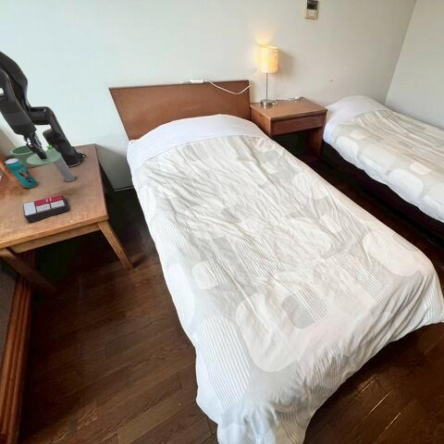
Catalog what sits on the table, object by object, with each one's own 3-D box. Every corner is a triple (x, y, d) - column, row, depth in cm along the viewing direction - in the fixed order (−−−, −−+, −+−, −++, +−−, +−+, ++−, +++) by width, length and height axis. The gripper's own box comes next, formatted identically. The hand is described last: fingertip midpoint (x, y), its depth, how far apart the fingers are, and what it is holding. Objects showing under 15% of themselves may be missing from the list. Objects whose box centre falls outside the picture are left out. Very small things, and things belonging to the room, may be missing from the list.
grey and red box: (65, 204, 119) (23, 215, 111) (69, 211, 122) (29, 222, 113) (61, 193, 125) (21, 203, 116) (66, 200, 127) (26, 210, 119)
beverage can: (30, 189, 130) (10, 164, 120) (21, 187, 131) (0, 162, 121) (41, 183, 135) (22, 159, 124) (32, 181, 135) (12, 157, 125)
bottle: (76, 176, 142) (56, 144, 128) (73, 181, 138) (52, 148, 125) (67, 177, 141) (46, 144, 127) (64, 181, 138) (41, 148, 124)
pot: (21, 160, 149) (11, 147, 144) (46, 156, 155) (38, 143, 149) (19, 169, 142) (8, 156, 137) (45, 165, 148) (36, 152, 142)
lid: (29, 156, 119) (21, 145, 115) (62, 151, 125) (55, 140, 121) (26, 169, 112) (18, 157, 108) (62, 162, 118) (55, 151, 114)
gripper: (29, 126, 104) (53, 162, 115) (31, 114, 112) (54, 149, 123) (5, 128, 100) (32, 166, 112) (9, 116, 108) (34, 152, 120)
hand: (43, 157), depth 118 cm, fingers closed on lid, 2 cm apart
